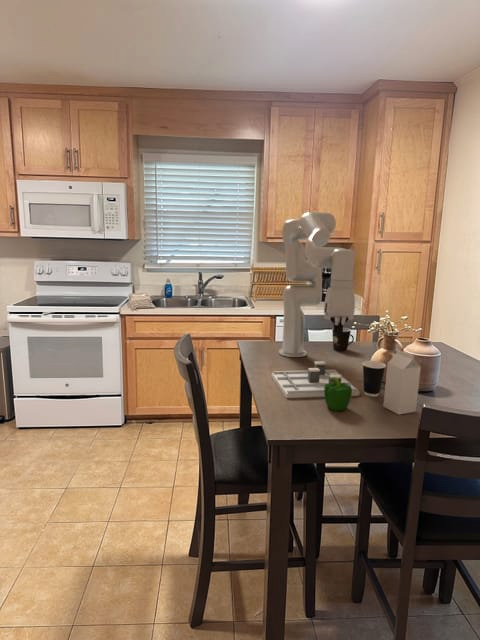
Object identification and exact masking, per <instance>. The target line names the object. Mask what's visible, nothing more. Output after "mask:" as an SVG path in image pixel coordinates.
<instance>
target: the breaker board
mask: <svg viewBox="0 0 480 640" xmlns="http://www.w3.org/2000/svg"><path fill="white" fill-rule="evenodd" d="M329 375H340V376H341V383H346V384H347V385H348V386H351V389H352V393H351V397H354V396H355V397H357V396H360V390H359V388H357V387H355V386H354V385H352V383H351V382H350V381H348V380H347V379H346V378H344V377H343V375H342V374H340V373H339V372H337V370H336V369H325V375H320V377H319V382H309V381H308V369H307V370H278V371H277V370H273V371H272V373H271V378H272V379H273V381H274V383H276V385H277V387H278V388H279V390H280V391H281V393H282V394H283V395H284V396H285V398H286V399H298V398H299V399H300V398H322V397H323V398H325V395H324V386H325V385H326V383H327V384H329Z"/></svg>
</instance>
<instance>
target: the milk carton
mask: <svg viewBox="0 0 480 640" xmlns="http://www.w3.org/2000/svg"><path fill="white" fill-rule="evenodd" d="M386 363H387V364H386V376H385V387H384V397H383V408H385V409H387V410H389V411H391V412H392V413H395V414H396V415H404V414H410V413H415V412H416V411H417V405H418V404H417V403H418V394H419V385H420V377H421V369H422V366H420V364H419V363H418V362H417V361H416V360H415V355H414V354H410V353H408V352H405V351H402V350H399V349H396V352H395V354H393V356H392V358H391V360H390V361H389V362H386Z"/></svg>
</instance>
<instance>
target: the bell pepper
mask: <svg viewBox="0 0 480 640" xmlns="http://www.w3.org/2000/svg"><path fill="white" fill-rule="evenodd" d="M332 380H335V381H336V383H335V382H330V383H329V384H327V383H326V385H325V386H324V395H325V397H324V400H325V404H326V406H327V407H328V408H329V409H330V410H332V411H335V412H342V411H344V410H346V409H347V408H348V407H349V403H350V401H351V397H352V396H351V393H352V389H351V386H348V385H347V384H346V383H339V380H338V379H337V378H336V377H332Z"/></svg>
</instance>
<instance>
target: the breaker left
mask: <svg viewBox="0 0 480 640" xmlns="http://www.w3.org/2000/svg"><path fill="white" fill-rule="evenodd" d="M313 364H314V365H313V368H319V369H320V375H325V370H326V364H327V363H326V362H325V361H324V360H322V361H321V360H318V361H317V360H315V361H314V363H313Z"/></svg>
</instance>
